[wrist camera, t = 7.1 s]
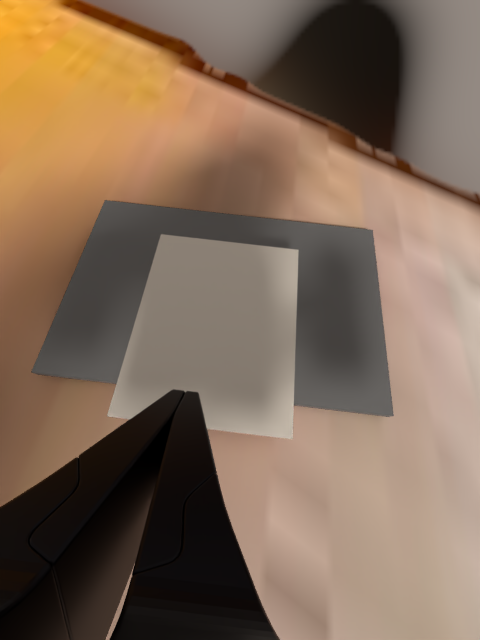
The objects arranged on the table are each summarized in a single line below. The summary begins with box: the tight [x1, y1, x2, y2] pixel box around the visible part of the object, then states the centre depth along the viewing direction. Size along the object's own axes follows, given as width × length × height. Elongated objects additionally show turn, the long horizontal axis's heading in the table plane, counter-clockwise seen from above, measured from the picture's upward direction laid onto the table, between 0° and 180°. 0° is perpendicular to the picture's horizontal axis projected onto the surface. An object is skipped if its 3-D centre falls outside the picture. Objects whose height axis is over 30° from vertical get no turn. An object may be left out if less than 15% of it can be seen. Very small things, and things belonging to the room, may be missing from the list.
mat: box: [31, 200, 394, 417], centre depth 17 cm, size 13×20×1 cm, turn 84°
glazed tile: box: [107, 234, 299, 439], centre depth 15 cm, size 3×8×10 cm
